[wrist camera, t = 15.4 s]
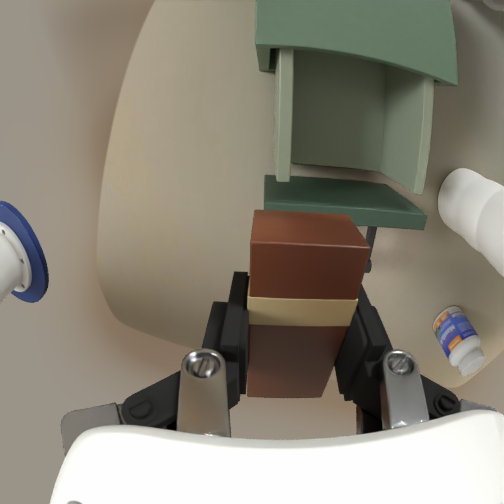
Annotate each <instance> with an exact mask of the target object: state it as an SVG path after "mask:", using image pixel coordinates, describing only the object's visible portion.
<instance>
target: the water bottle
mask: <svg viewBox="0 0 504 504" xmlns="http://www.w3.org/2000/svg"><path fill="white" fill-rule="evenodd" d="M438 210H439V214H440V217H441V219H442V220H443V222H444V223H445V224H446V225H447V226H448V227H449V228H450V229H452V230H453V231H454V232H456V233H457V234H459V235H461V236H462V237H463V238H464V239H465V241H466V242H467V243H468V244H469V245H470V246H472V247H473V248H474V249H475V250H477V251H478V252H480V253H482V254H483V255H484V256H485V258H486V259H487V260H488V261H489V262H490V263H491V264H492V266H493V267H494V268H495V269H496V270H497V271H498V272H499V273H500V274H501V275H502V276H503V277H504V187H503V186H502V185H500V184H498V183H496V182H494V181H492V180H488V179H486V178H484V177H483V176H481V175H480V174H478V173H476V172H474V171H472V170H469V169H466V168H460V169H457V170H454V171H453V172H451V173H450V174H449V175H448V176H447V177H446V179H445V180H444V182H443V183H442V186H441V188H440V191H439V195H438Z"/></svg>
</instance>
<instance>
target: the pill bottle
mask: <svg viewBox="0 0 504 504" xmlns="http://www.w3.org/2000/svg"><path fill="white" fill-rule="evenodd" d="M433 331H434V333H435V335H436V337H437V339H438V341H439V342H440V344H441V346H442V348H443V350H444V352H445V354H446V356H447V358H448V360H449V362H450V363H451V365H453V366H459V367H458V368H459V371H460V373H461V374H462V376H464V377H466V376H469V375H471V374H473V373H474V372H475V371H477V370H478V369H479V368H480V367H481V366H482V364H483V363H484V361H485V355H484V353H483V351H482V350H480V347H481V339H480V338H479V336H478V334H477V333H476V331H475V330H474V328H473V327H472V325H471V324H470V322H469V321H468V319H467V318H466V316H465V315H464V313H463V312H462V310H461V309H460V308H459V307H457V306H452V307H449V308H446V309H445V310H443V311H442V312H441V313H440V314H439V315H438V316H437V318H436V319H435V321H434V323H433Z"/></svg>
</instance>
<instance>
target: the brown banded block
mask: <svg viewBox="0 0 504 504" xmlns="http://www.w3.org/2000/svg"><path fill="white" fill-rule="evenodd" d="M369 252H370V246H369V245H368V243H367V242H366V240H365V239H364V237H363V236H362V234H361V233H360V231H359V230H358V228H357V227H356V225H355V224H354V222H353V221H352V220H351V218H350V217H349V216H348V215H340V214H326V213H311V212H294V211H276V210H255V211H254V218H253V226H252V233H251V241H250V278H249V288H248V297H247V310H248V311H249V343H248V378H247V382H248V383H247V396H248V397H264V398H315V397H321V396H322V394H323V391H324V389H325V387H326V384H327V382H328V380H329V377H330V375H331V372H332V370H333V367H334V364H335V362H336V359H337V356H338V354H339V351H340V348H341V346H342V343H343V340H344V337H345V334H346V331H347V328H348V326H350V323H351V320H352V317H353V314H354V312H355V309H356V306H357V303H358V298H357V297H358V293H359V290H360V286H361V283H362V279H363V276H364V272H365V268H366V264H367V260H368V256H369Z"/></svg>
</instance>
